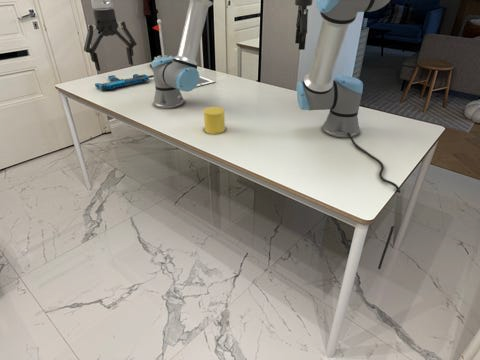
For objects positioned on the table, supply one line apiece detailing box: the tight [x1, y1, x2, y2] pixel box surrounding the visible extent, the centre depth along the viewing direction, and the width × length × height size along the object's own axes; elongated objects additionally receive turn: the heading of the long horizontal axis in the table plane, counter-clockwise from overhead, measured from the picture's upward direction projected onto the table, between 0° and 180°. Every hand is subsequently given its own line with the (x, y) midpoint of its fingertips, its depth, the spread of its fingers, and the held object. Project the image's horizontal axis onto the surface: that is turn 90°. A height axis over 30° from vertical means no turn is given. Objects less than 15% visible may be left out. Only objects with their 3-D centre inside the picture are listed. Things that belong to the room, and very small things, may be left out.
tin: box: [203, 106, 226, 135], centre depth 149 cm, size 9×9×9 cm
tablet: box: [195, 75, 216, 88], centre depth 213 cm, size 32×20×1 cm, turn 41°
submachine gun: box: [94, 73, 154, 91], centre depth 208 cm, size 34×4×25 cm
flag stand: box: [152, 18, 173, 60], centre depth 234 cm, size 13×13×30 cm
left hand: (115, 67), depth 137 cm, fingers open, 13 cm apart
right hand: (299, 46), depth 160 cm, fingers open, 13 cm apart
